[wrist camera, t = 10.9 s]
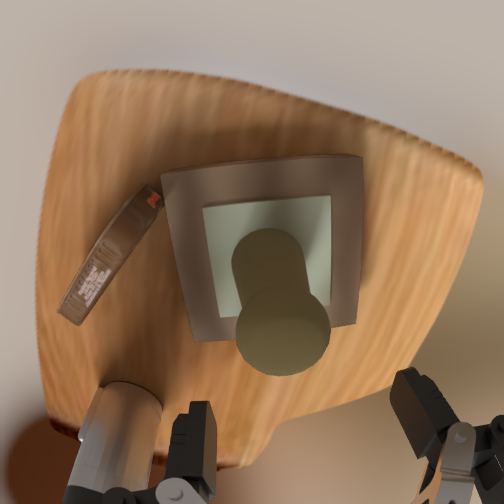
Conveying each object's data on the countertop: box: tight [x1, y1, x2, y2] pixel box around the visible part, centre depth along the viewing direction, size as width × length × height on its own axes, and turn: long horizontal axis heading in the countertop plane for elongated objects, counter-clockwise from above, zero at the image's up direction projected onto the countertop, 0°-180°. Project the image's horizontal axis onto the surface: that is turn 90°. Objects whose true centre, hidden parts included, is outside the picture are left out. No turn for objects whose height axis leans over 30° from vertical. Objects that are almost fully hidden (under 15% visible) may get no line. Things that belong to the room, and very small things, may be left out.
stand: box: [160, 154, 363, 342], centre depth 26 cm, size 16×16×4 cm
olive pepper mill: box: [231, 228, 331, 376], centre depth 19 cm, size 6×6×11 cm
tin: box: [57, 182, 165, 326], centre depth 23 cm, size 15×3×8 cm, turn 136°
